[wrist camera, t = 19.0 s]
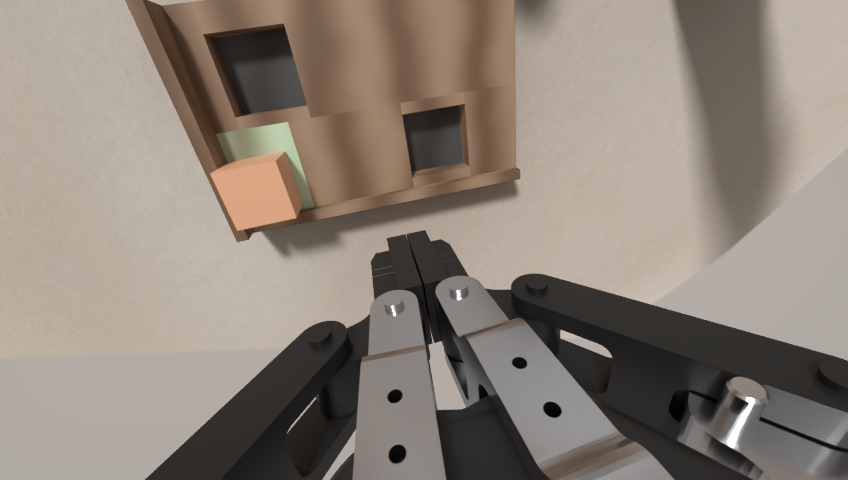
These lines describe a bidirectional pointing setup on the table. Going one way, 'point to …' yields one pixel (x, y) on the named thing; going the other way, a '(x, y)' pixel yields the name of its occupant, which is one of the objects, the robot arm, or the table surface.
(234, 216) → the terracotta block
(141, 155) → the table surface
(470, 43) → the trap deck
